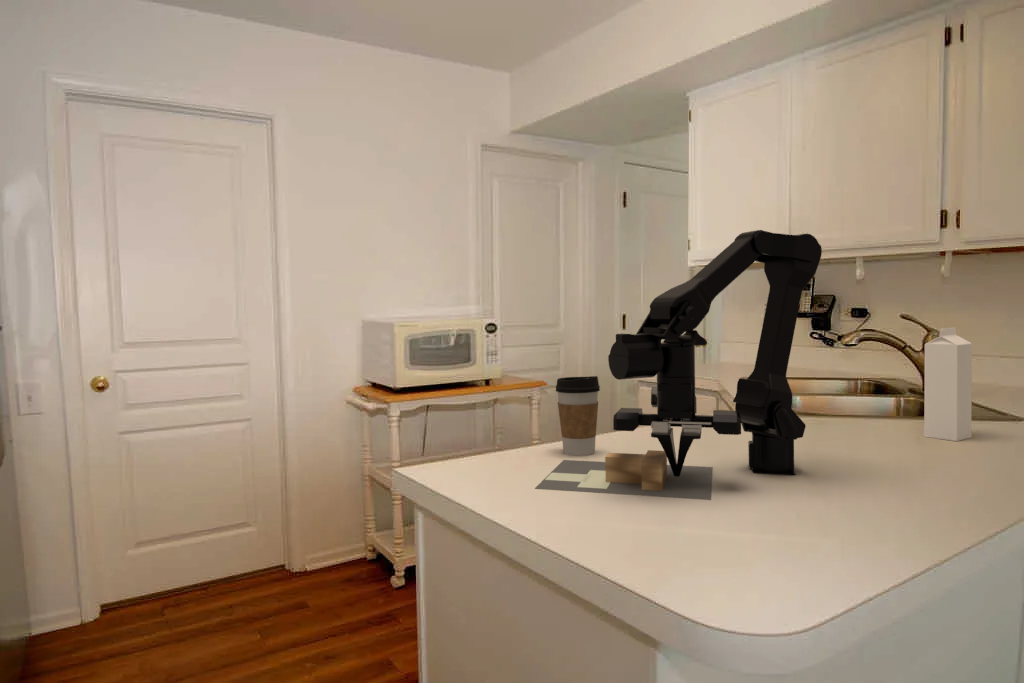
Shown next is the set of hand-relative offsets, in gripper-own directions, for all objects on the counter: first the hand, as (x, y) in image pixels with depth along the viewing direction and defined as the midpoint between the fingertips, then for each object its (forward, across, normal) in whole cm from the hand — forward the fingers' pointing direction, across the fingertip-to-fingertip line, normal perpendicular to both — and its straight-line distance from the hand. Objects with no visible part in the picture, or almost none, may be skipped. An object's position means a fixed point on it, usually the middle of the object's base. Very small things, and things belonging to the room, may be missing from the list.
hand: (677, 475), depth 99 cm
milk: (+2, -50, -47) cm, 68 cm away
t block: (+1, +6, 0) cm, 7 cm away
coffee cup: (+2, +19, -18) cm, 27 cm away
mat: (+2, +8, -2) cm, 8 cm away
